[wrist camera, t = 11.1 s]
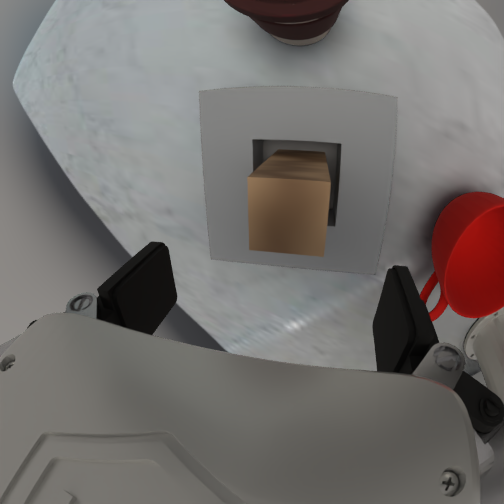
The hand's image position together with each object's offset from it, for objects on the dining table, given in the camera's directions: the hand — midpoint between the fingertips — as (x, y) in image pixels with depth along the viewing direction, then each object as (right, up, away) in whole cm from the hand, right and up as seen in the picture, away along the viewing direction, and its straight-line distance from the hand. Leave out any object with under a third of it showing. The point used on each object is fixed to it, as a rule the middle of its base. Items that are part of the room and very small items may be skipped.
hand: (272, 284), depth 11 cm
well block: (+4, +10, +18) cm, 21 cm away
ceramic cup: (+24, +3, +17) cm, 30 cm away
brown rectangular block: (+4, +10, +18) cm, 21 cm away
